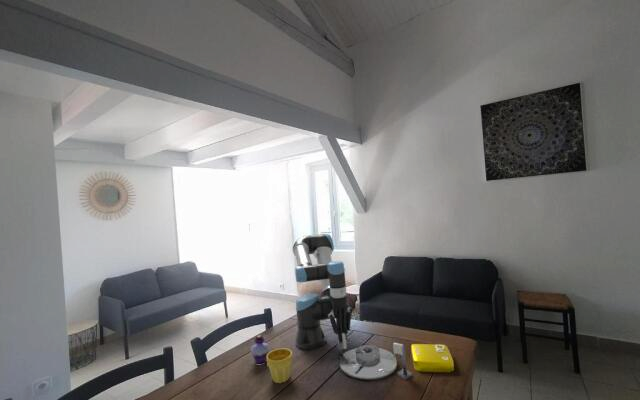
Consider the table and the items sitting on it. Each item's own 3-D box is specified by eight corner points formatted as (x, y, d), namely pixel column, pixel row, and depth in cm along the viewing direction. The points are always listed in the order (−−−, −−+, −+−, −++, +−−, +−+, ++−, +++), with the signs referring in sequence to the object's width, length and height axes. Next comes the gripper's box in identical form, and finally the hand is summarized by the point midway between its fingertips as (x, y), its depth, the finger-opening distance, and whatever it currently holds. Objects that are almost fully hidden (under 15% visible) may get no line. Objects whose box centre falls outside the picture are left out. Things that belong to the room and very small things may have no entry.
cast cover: (352, 363, 123) (351, 352, 123) (362, 352, 131) (361, 342, 131) (374, 368, 117) (373, 357, 118) (383, 356, 126) (383, 346, 126)
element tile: (411, 353, 131) (410, 342, 131) (447, 354, 128) (446, 342, 128) (414, 372, 116) (413, 360, 116) (455, 373, 113) (454, 361, 113)
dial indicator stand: (395, 373, 116) (392, 343, 116) (402, 370, 118) (399, 340, 118) (405, 379, 111) (402, 348, 111) (412, 375, 113) (409, 344, 114)
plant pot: (289, 386, 113) (287, 361, 113) (264, 385, 115) (262, 360, 115) (297, 371, 123) (295, 348, 123) (273, 371, 125) (271, 347, 125)
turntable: (323, 369, 122) (322, 354, 123) (350, 344, 142) (349, 331, 143) (384, 386, 108) (382, 369, 108) (404, 355, 127) (403, 341, 128)
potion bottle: (261, 356, 139) (259, 330, 140) (274, 360, 134) (272, 333, 135) (247, 364, 132) (245, 337, 133) (260, 369, 127) (258, 341, 128)
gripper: (331, 301, 128) (336, 355, 128) (354, 294, 135) (359, 346, 134) (322, 297, 135) (327, 349, 134) (345, 291, 142) (349, 340, 141)
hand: (343, 347), depth 134 cm, fingers closed
